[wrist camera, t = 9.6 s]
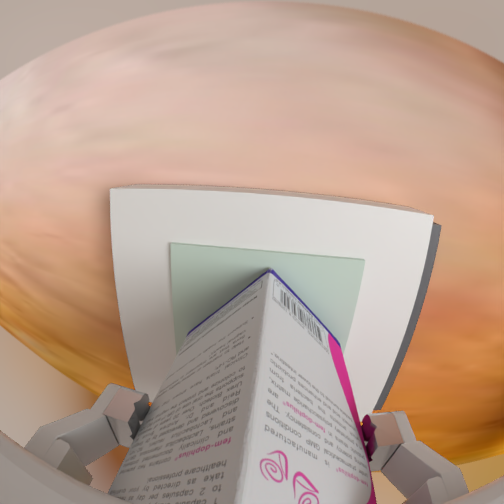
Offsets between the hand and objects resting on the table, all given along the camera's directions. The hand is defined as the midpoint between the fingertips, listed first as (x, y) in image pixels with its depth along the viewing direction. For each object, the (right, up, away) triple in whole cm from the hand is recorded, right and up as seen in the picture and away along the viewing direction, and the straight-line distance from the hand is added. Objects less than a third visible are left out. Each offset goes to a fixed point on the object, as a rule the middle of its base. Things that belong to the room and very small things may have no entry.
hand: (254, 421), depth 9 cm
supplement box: (+1, +1, +5) cm, 6 cm away
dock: (+1, +3, +8) cm, 9 cm away
